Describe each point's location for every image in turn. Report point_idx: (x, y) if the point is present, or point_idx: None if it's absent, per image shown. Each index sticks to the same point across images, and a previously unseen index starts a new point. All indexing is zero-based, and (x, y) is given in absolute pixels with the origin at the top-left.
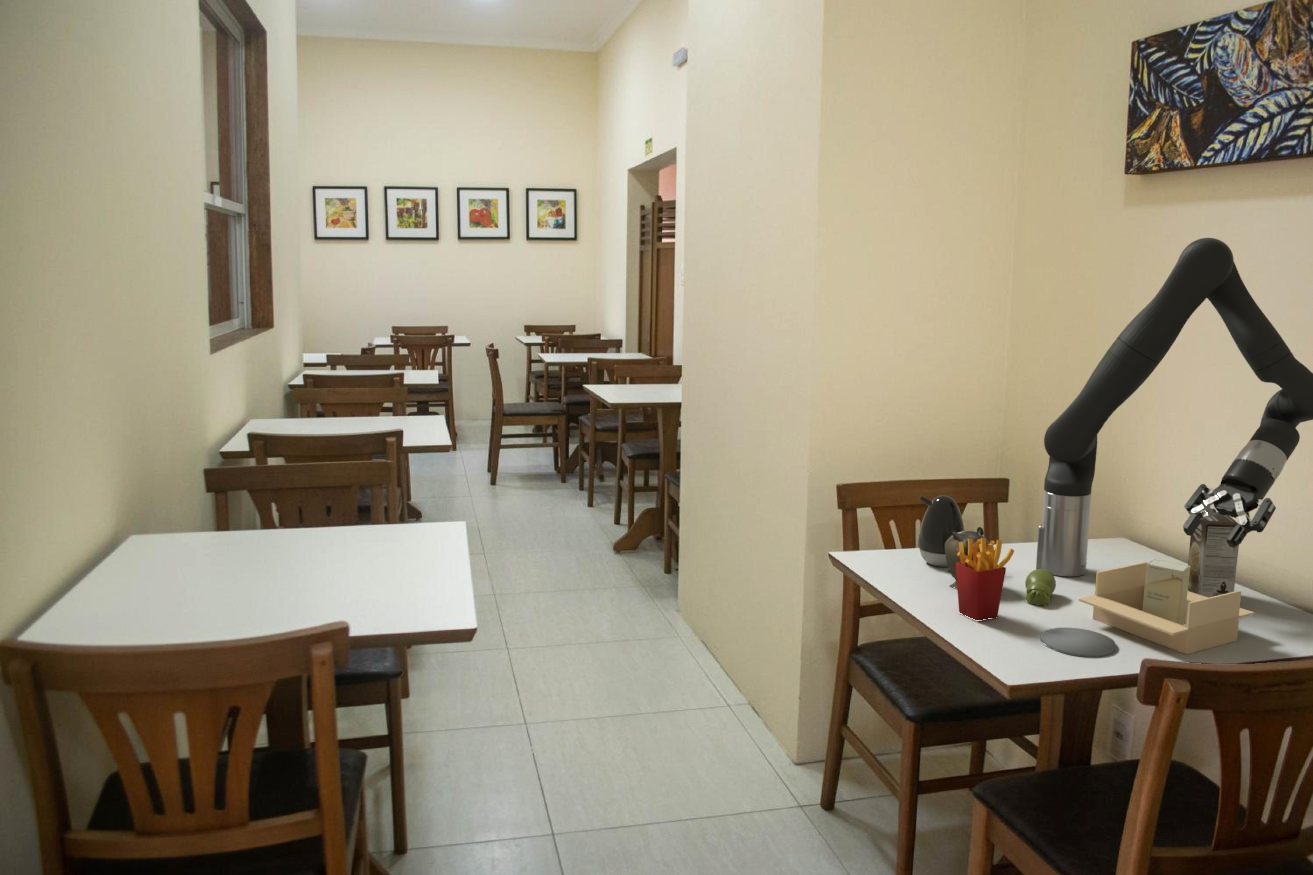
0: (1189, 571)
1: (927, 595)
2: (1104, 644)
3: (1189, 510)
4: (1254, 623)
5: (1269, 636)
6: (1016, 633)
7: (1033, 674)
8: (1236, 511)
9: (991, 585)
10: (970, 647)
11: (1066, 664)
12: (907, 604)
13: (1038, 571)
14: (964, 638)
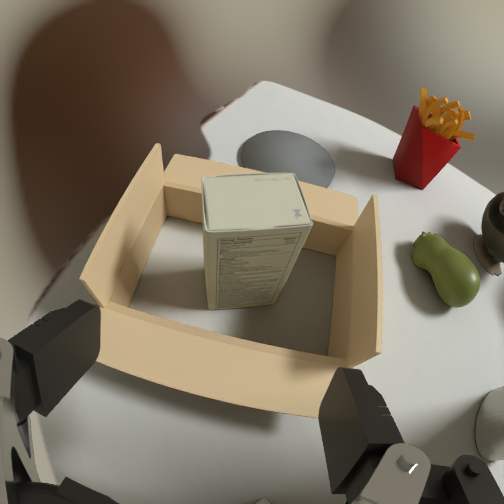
0: (204, 234)
1: (469, 198)
2: (259, 162)
3: (437, 468)
4: (122, 453)
5: (78, 391)
6: (348, 152)
7: (264, 94)
8: (2, 410)
9: (410, 133)
10: (339, 111)
11: (258, 117)
12: (450, 167)
13: (469, 264)
14: (360, 123)
